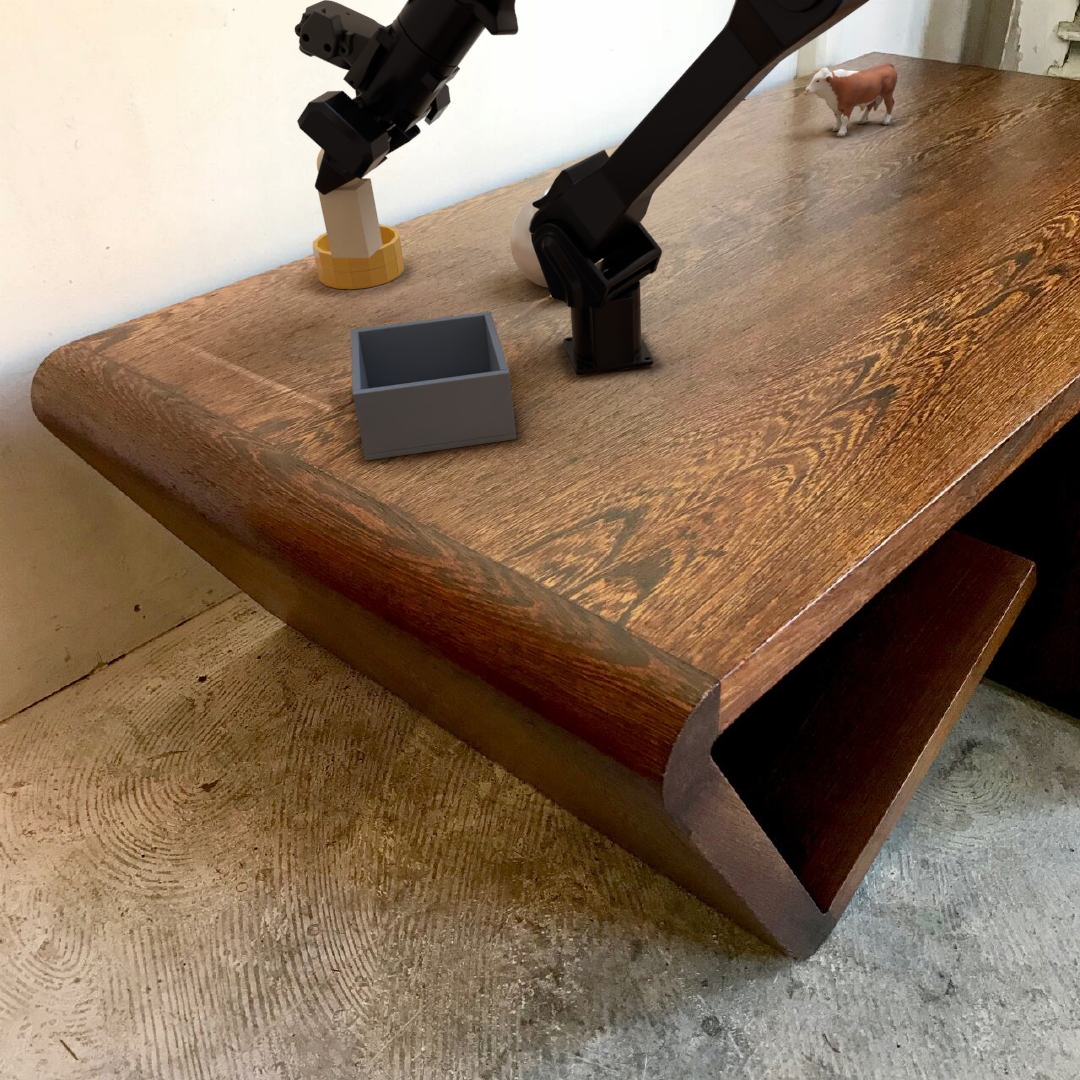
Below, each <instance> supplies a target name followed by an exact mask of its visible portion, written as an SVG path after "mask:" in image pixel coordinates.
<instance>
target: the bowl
mask: <svg viewBox="0 0 1080 1080" xmlns="http://www.w3.org/2000/svg"><path fill="white" fill-rule="evenodd" d="M379 228H380V233H381V239H382V244H383V246H381V247H380V248H379V249H378V250H377V251H376V252H375V253H374V254H373V255H372V256H371V257H370V258H332V255H331V251H330V246H329V241H328V236H327V232H324V233H321V234H320V235H318V237H316V238H315V239H314V240H313V241H312V251H313V256H314V257H313V258H314V260H315V261H314V262H315V266H316V271H317V277H318V281H319V282H320V283H321V284H323V285H324V286H325V287H329V288H333V289H336V290H361V289H367V288H368V289H369V288H373V287H377V286H380V285H385V284H387V283H389V282H391V281H394V280H395V279H397V278H399V277H400V276H401V275H402V274H403V272H405V270H406V267H405V262H404V255H403V248H402V241H401V236H400V230H398V229H397V228H396V227H393V226H391V225H387V224H380V223H379Z"/></svg>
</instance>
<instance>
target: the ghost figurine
mask: <svg viewBox="0 0 1080 1080" xmlns="http://www.w3.org/2000/svg"><path fill="white" fill-rule="evenodd" d="M551 186H552V184H550V185H549V186H546V187H545V189H543V191H542V193H541V194H539V195H537V196H534V197H533V198H531V199H530V200H529V201H527V202H526V203H525V204H524V205H523V206H522V207H521V208H520V210H519V211H518V213H517V214H516V216H515V218H514V220H513V223H512V225H511V229H510V235H509V238H510V239H509V245H510V251H511V256H512V259H513V261H514V263H515V266H516V267H517V268H518V270H519V271H520V273H522V275H523V276H524V277H526V279H528V280H529V281H530V282H532V283H533V284H535V285H538V286H539V287H543V288H546V289H549V288H548V286H547V283H546V280H545V277H544V275H543V272H542V269H541V266H540V264H539V261H538V258H537V255H536V253H535V250H534V247H533V244H532V241H531V233H530V232H529V225H530V221H531V219H532V217H533V215H534V214H535V213H536V212H537V211H538V210H539V209H537V208H535V207H533V205H532V203H533V202H534V201H536V200H538V199H540V198H542V197H544V196H545V195H546V194H547V192H548V191H549V189H550V188H551ZM598 262H600V261H598ZM598 262H597V263H598ZM597 263H595V264H597ZM595 264H594V265H595Z"/></svg>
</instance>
